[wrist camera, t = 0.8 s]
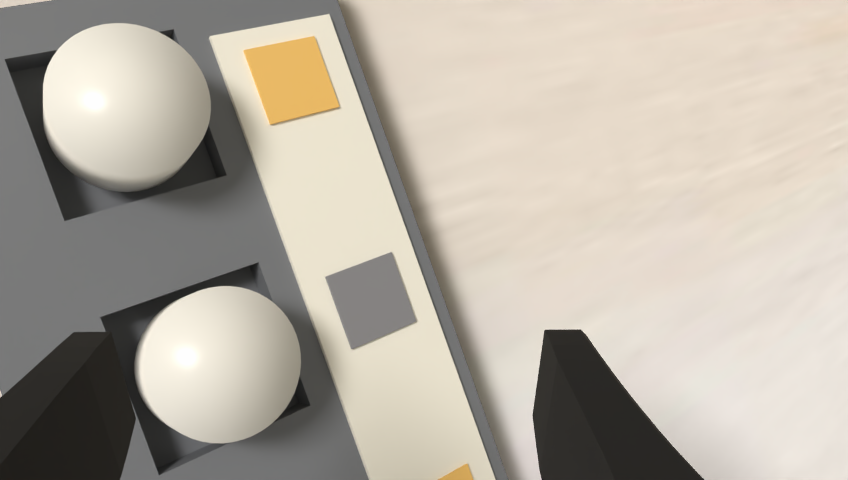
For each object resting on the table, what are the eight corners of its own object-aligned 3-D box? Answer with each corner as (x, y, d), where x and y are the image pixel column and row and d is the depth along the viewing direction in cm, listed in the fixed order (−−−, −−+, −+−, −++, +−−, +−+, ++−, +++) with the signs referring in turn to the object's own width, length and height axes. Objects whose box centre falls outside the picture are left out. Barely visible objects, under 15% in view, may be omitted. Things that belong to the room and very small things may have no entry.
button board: (513, 564, 29) (548, 580, 27) (159, 802, 22) (171, 846, 20) (305, -16, 28) (326, -44, 26) (-122, 54, 22) (-139, 23, 20)
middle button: (297, 399, 24) (321, 403, 22) (163, 460, 22) (176, 471, 20) (251, 272, 24) (271, 265, 22) (112, 321, 22) (119, 318, 20)
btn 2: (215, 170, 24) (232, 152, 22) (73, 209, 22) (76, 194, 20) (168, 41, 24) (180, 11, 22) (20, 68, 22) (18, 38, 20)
